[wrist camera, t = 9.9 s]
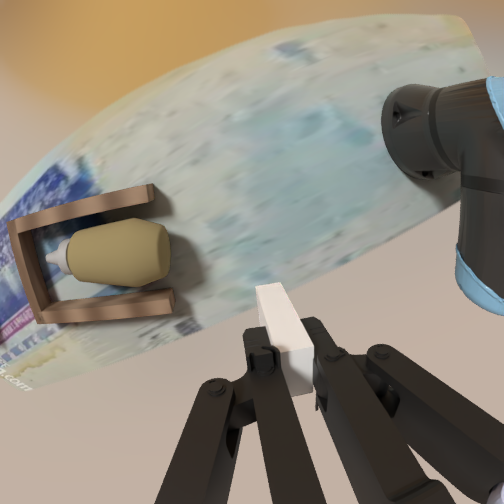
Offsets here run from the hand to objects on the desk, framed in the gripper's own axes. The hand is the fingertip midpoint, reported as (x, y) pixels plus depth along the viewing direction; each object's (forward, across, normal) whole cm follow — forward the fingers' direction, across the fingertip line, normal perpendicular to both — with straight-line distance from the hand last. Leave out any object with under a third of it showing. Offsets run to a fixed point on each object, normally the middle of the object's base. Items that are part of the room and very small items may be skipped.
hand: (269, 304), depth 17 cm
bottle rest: (+19, +21, 0) cm, 29 cm away
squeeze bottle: (+15, +9, 0) cm, 18 cm away
